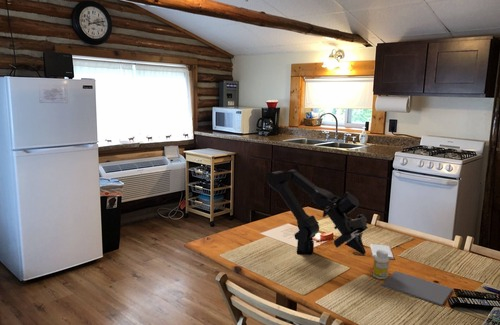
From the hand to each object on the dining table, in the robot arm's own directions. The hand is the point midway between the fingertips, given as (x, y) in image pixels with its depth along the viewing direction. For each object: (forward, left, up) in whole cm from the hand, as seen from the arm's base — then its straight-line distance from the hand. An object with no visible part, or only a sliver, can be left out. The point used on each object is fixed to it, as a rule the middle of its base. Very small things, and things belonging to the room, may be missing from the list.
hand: (364, 253), depth 148 cm
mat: (+17, -11, -7) cm, 21 cm away
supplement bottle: (+6, -4, -7) cm, 10 cm away
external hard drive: (+11, +20, -8) cm, 24 cm away
